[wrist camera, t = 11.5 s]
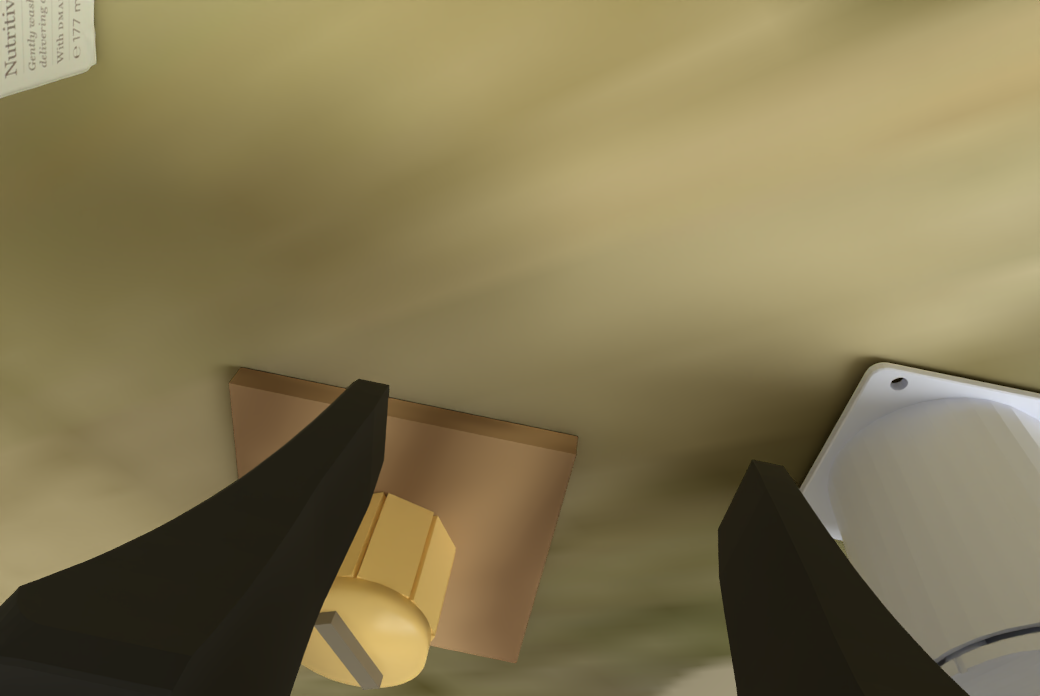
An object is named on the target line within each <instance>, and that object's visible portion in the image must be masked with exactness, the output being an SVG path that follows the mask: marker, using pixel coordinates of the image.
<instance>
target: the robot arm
mask: <svg viewBox="0 0 1040 696" xmlns="http://www.w3.org/2000/svg"><path fill="white" fill-rule="evenodd" d="M896 378H903V379H902V380H901V381H900V382H897V383H891V382H892V381H893V380H894V379H896ZM388 397H389V385H386V384H381V383H376V382H371V381H367V380H362V379H358V380H356V381H355V382H353V383H352V384H351V385H350V386H349V387H348V388H347V389H346V390H345V391H344V392H343V393H342V394H341V395H340V396H339V397H338V398H337V399H336V400H335V401H334V402H333V403H331V404H330V405H329V406H328V407H327V408H326V409H325V410H324V411H323V412H322V413H321V414H320V415H318V416H317V417H316V418H315V419H314V420H313V421H312V422H311V423H309V424H308V425H307V426H306V427H305V428H304V429H302V430H301V431H300V432H299V433H298V434H297V435H295V436H294V437H293V438H292V439H291V440H290V441H288V442H287V443H286V444H285V445H284V446H282V447H281V448H280V449H278V450H277V451H276V452H274V453H273V454H272V455H271V456H269V457H268V458H267V459H265V460H264V461H263V462H261V463H260V464H259V465H257V466H256V467H255V468H254V469H252V470H251V471H249V472H248V473H247V474H245V475H244V476H242V477H241V478H239V479H238V480H237V481H235V482H234V483H232V484H231V485H229V486H228V487H226V488H225V489H223V490H222V491H220V492H218V493H217V494H215V495H214V496H212V497H211V498H209V499H207V500H206V501H204V502H202V503H201V504H199V505H197V506H196V507H194V508H192V509H190V510H189V511H187V512H185V513H183V514H182V515H180V516H178V517H177V518H175V519H173V520H171V521H169V522H167V523H166V524H164V525H162V526H160V527H158V528H156V529H154V530H152V531H150V532H148V533H146V534H144V535H142V536H140V537H138V538H136V539H134V540H132V541H130V542H127V543H125V544H123V545H121V546H119V547H117V548H115V549H113V550H111V551H108V552H106V553H104V554H102V555H99V556H97V557H95V558H92V559H90V560H88V561H85V562H83V563H80V564H78V565H75V566H72V567H70V568H67V569H65V570H62V571H59V572H57V573H54V574H52V575H49V576H46V577H44V578H41V579H39V580H36V581H33V582H31V583H28V584H25V585H22V586H20V587H19V588H18V589H17V590H16V591H15V592H14V593H13V594H12V595H11V596H10V597H9V598H8V599H7V600H6V601H5V602H4V603H3V604H2V605H1V606H0V696H290V694H291V691H292V688H293V685H294V682H295V679H296V676H297V673H298V670H299V667H300V665H301V662H302V659H303V656H304V653H305V650H306V648H307V645H308V642H309V639H310V636H311V634H312V631H313V628H314V625H315V623H316V620H317V618H318V615H319V613H320V611H321V608H322V606H323V603H324V601H325V599H326V597H327V595H328V593H329V590H330V588H331V586H332V584H333V582H334V580H335V578H336V576H337V573H338V571H339V569H340V567H341V565H342V563H343V561H344V559H345V556H346V554H347V552H348V550H349V548H350V546H351V544H352V542H353V539H354V537H355V535H356V533H357V531H358V529H359V527H360V524H361V522H362V520H363V518H364V516H365V514H366V511H367V509H368V507H369V505H370V502H371V499H372V496H373V493H374V490H375V487H376V484H377V481H378V478H379V474H380V471H381V468H382V465H383V462H384V454H385V440H386V426H387V412H388ZM834 539H837V540H842V541H843V543H844V546H845V549H846V552H847V555H848V559H849V560H848V559H847V557H846V556H845V555H844V553H843V552H842V550H841V549H840V548H839V546H838V545H837V543H836V542H835V541H834ZM718 556H719V579H720V586H721V593H722V600H723V606H724V613H725V619H726V625H727V631H728V638H729V644H730V650H731V656H732V662H733V669H734V675H735V681H736V687H737V696H1040V394H1039V393H1035V392H1030V391H1025V390H1020V389H1015V388H1010V387H1005V386H1000V385H995V384H990V383H986V382H981V381H976V380H971V379H966V378H961V377H956V376H951V375H946V374H941V373H937V372H932V371H927V370H922V369H917V368H912V367H907V366H902V365H897V364H893V363H887V362H881V363H877V364H874V365H872V366H871V367H869V368H868V370H867V371H866V372H865V374H864V376H863V377H862V379H861V381H860V383H859V384H858V386H857V388H856V390H855V392H854V393H853V395H852V397H851V399H850V400H849V402H848V404H847V406H846V407H845V409H844V411H843V413H842V415H841V416H840V418H839V420H838V422H837V423H836V425H835V427H834V429H833V430H832V432H831V434H830V436H829V438H828V439H827V441H826V443H825V445H824V446H823V448H822V450H821V452H820V453H819V455H818V457H817V459H816V461H815V462H814V464H813V466H812V468H811V469H810V471H809V473H808V475H807V476H806V478H805V480H804V482H803V484H802V485H801V487H800V489H799V488H798V487H797V485H796V484H795V482H794V481H793V479H792V478H791V476H790V475H789V473H788V472H787V471H786V469H785V468H784V466H780V465H776V464H771V463H766V462H761V461H756V460H752V461H751V463H750V465H749V467H748V470H747V472H746V474H745V476H744V478H743V480H742V482H741V484H740V486H739V488H738V490H737V492H736V494H735V496H734V498H733V500H732V502H731V504H730V506H729V508H728V510H727V512H726V514H725V516H724V518H723V520H722V522H721V524H720V526H719V528H718Z"/></svg>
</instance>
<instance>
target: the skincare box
mask: <svg viewBox="0 0 1040 696" xmlns="http://www.w3.org/2000/svg"><path fill="white" fill-rule="evenodd" d="M95 36H96V33H95V28H94V0H0V98H3V97H6V96H9V95H13V94H16V93H19V92H22V91H26V90H29V89H33V88H36V87H40V86H42V85H45V84H49V83H52V82H55V81H58V80H61V79H65V78H68V77H72V76H75V75H78V74H82V73H84V72H86V71H88V70H89V69H90V67H91V66H93V65H95V64H96V43H95Z"/></svg>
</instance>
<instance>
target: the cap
mask: <svg viewBox="0 0 1040 696" xmlns="http://www.w3.org/2000/svg"><path fill="white" fill-rule="evenodd" d="M433 514H434V512H432V511H430V510H427V509H425V508H423V507H420V506H418V505H416V504H413V503H411V502H409V501H406V500H404V499H402V498H399V497H397V496H395V495H392V494H390V493H388V495H387V496H385V494H384V493H383V492H381V493H375V494H373V496H372V499H371V502H370V505H369V507H368V509H367V511H366V514H365V516H364V518H363V520H362V522H361V524H360V527H359V529H358V531H357V533H356V535H355V537H354V539H353V542H352V544H351V546H350V548H349V550H348V552H347V554H346V556H345V559H344V561H343V563H342V565H341V567H340V569H339V571H338V573H337V576H336V578H335V580H334V582H333V584H332V586H331V588H330V590H329V593H328V595H327V597H326V599H325V601H324V603H323V606H322V608H321V611H320V613H319V615H318V618H317V620H316V623H315V625H314V628H313V631H312V634H311V636H310V639H309V642H308V645H307V648H306V650H305V653H304V656H303V659H302V662H301V664H303V665H304V666H305V667H307V668H309V669H310V670H312V671H314V672H315V673H317V674H319V675H321V676H324V677H326V678H329V679H331V680H334V681H337V682H340V683H344V684H348V685H353V686H359V687H361V688H362V689H363V690H365V689H378V688H382V687H391V686H396V685H400V684H403V683H406V682H408V681H410V680H412V679H413V678H415V677H416V676H417V675H418V674H419V673H420V672H421V671H422V669H423V668H424V665H425V662H426V658H427V654H428V650H429V646H430V642H431V641H432V640H433V639H434V637H435V634H436V630H437V626H438V622H439V618H440V614H441V610H442V606H443V602H444V597H445V593H446V589H447V585H448V581H449V577H450V573H451V569H452V565H453V561H454V557H455V552H456V551H455V549H456V548H455V546H454V544H453V542H452V540H451V538H450V537H449V535H448V533H447V531H446V529H445V528H444V526H443V524H442V522H441V520H440V519H439V517H438V516H433Z"/></svg>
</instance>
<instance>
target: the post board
mask: <svg viewBox="0 0 1040 696" xmlns="http://www.w3.org/2000/svg"><path fill="white" fill-rule="evenodd" d="M229 390H230V400H231V410H232V420H233V430H234V440H235V450H236V460H237V470H238V479H239V478H241V477H242V476H244V475H245V474H247V473H248V472H249V471H251V470H252V469H254V468H255V467H256V466H257V465H259V464H260V463H261V462H263V461H264V460H265V459H267V458H268V457H269V456H271V455H272V454H273V453H274V452H276V451H277V450H278V449H280V448H281V447H282V446H284V445H285V444H286V443H287V442H288V441H290V440H291V439H292V438H293V437H294V436H295V435H297V434H298V433H299V432H300V431H301V430H302V429H304V428H305V427H306V426H307V425H308V424H309V423H311V422H312V421H313V420H314V419H315V418H316V417H317V416H318V415H320V414H321V413H322V412H323V411H324V410H325V409H326V408H327V407H328V406H329V405H330V404H331V403H333V402H334V401H335V400H336V399H337V398H338V397H339V396H340V395H341V394H342V393H343V392H344V391H345V390H346V389H344V388H340V387H335V386H330V385H325V384H320V383H315V382H310V381H306V380H301V379H296V378H291V377H286V376H281V375H276V374H271V373H267V372H262V371H257V370H252V369H247V368H242V367H241V368H240V369H239V370H238V372H237V373H236V374H235V376H234V377H233V378H232V380H231V381H230V382H229ZM577 441H578V436H573V435H568V434H563V433H559V432H554V431H549V430H544V429H539V428H534V427H529V426H524V425H520V424H515V423H510V422H505V421H500V420H495V419H490V418H486V417H481V416H476V415H471V414H466V413H461V412H456V411H451V410H447V409H442V408H437V407H432V406H427V405H422V404H417V403H413V402H408V401H403V400H398V399H393V398H388V412H387V426H386V440H385V454H384V462H383V465H382V468H381V471H380V474H379V478H378V481H377V484H376V487H375V490H374V493H373V494H375V493H381V492H383V493H384V494H385V496H387V495H388V493H390V494H392V495H395V496H397V497H399V498H402V499H404V500H406V501H409V502H411V503H413V504H416V505H418V506H420V507H423V508H425V509H427V510H430V511H432V512H434V514H433V516H438V517H439V519H440V520H441V522H442V524H443V526H444V528H445V529H446V531H447V533H448V535H449V537H450V538H451V540H452V542H453V544H454V546H455V548H456V549H455V551H456V552H455V557H454V561H453V565H452V569H451V573H450V577H449V581H448V585H447V589H446V593H445V597H444V602H443V606H442V610H441V614H440V618H439V622H438V626H437V630H436V634H435V637H434V639H433V640H432V641H431V642H430V646H435V647H440V648H445V649H449V650H454V651H459V652H464V653H469V654H473V655H478V656H483V657H488V658H493V659H497V660H502V661H507V662H512V663H516V662H517V659H518V655H519V652H520V648H521V645H522V641H523V638H524V634H525V631H526V628H527V624H528V621H529V617H530V614H531V610H532V607H533V603H534V600H535V596H536V593H537V589H538V586H539V582H540V579H541V576H542V572H543V569H544V565H545V562H546V558H547V555H548V551H549V548H550V544H551V541H552V537H553V534H554V530H555V527H556V524H557V520H558V517H559V513H560V510H561V506H562V503H563V499H564V496H565V492H566V489H567V485H568V482H569V479H570V475H571V472H572V468H573V465H574V461H575V458H576V453H577Z"/></svg>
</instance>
